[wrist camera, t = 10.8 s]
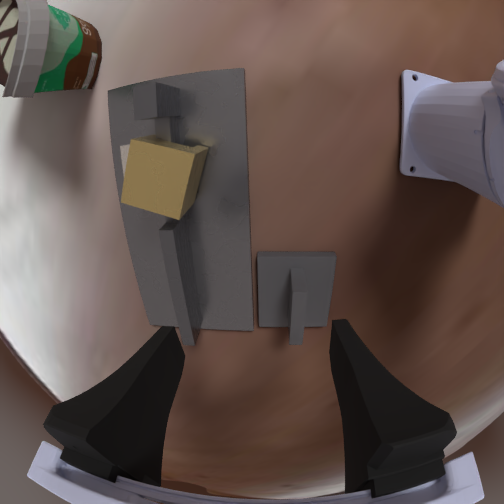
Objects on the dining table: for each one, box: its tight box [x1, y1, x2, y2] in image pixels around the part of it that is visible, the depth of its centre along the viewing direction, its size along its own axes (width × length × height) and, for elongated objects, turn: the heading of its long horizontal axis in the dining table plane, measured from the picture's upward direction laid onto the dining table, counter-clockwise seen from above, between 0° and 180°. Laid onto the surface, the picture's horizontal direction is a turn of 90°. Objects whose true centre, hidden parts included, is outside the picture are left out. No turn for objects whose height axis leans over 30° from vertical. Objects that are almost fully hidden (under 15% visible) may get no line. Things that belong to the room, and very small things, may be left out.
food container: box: [0, 0, 102, 97], centre depth 10 cm, size 12×6×10 cm, turn 55°
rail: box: [108, 68, 254, 346], centre depth 19 cm, size 10×21×5 cm, turn 2°
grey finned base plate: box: [257, 252, 337, 345], centre depth 21 cm, size 6×7×4 cm
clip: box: [121, 134, 208, 220], centre depth 17 cm, size 4×4×4 cm
